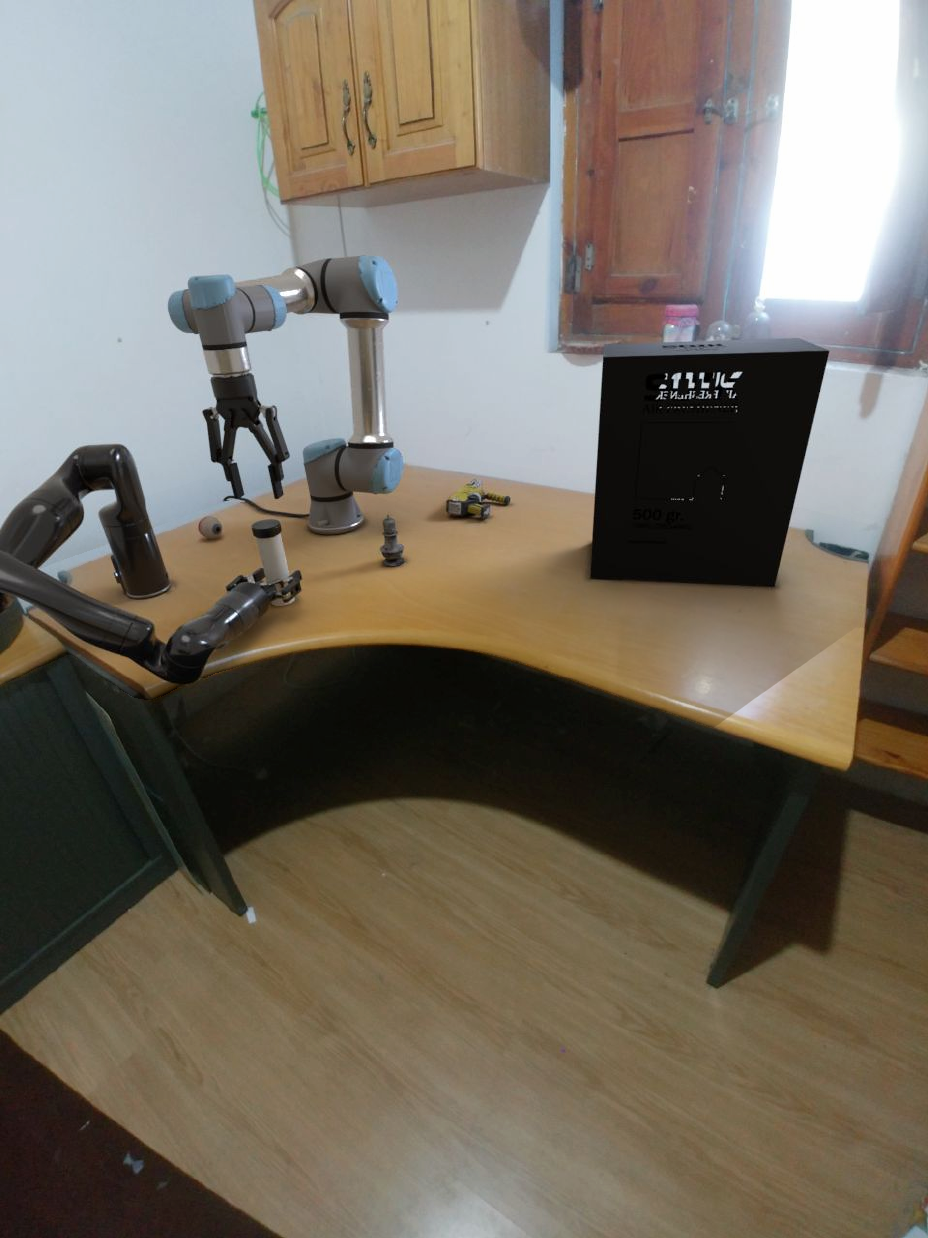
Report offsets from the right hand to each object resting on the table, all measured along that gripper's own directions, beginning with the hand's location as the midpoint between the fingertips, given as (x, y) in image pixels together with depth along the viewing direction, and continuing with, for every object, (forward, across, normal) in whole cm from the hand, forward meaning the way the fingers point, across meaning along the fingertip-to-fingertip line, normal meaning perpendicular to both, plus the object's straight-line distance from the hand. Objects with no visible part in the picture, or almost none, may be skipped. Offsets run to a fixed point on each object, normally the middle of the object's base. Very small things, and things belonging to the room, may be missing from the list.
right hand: (259, 496), depth 119 cm
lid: (+6, 0, 0) cm, 6 cm away
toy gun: (+23, -37, -60) cm, 74 cm away
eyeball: (+23, +35, -34) cm, 54 cm away
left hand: (+17, 0, -2) cm, 18 cm away
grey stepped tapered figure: (+23, -20, -20) cm, 37 cm away
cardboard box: (+23, -85, -22) cm, 91 cm away
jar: (+23, 0, 0) cm, 23 cm away
